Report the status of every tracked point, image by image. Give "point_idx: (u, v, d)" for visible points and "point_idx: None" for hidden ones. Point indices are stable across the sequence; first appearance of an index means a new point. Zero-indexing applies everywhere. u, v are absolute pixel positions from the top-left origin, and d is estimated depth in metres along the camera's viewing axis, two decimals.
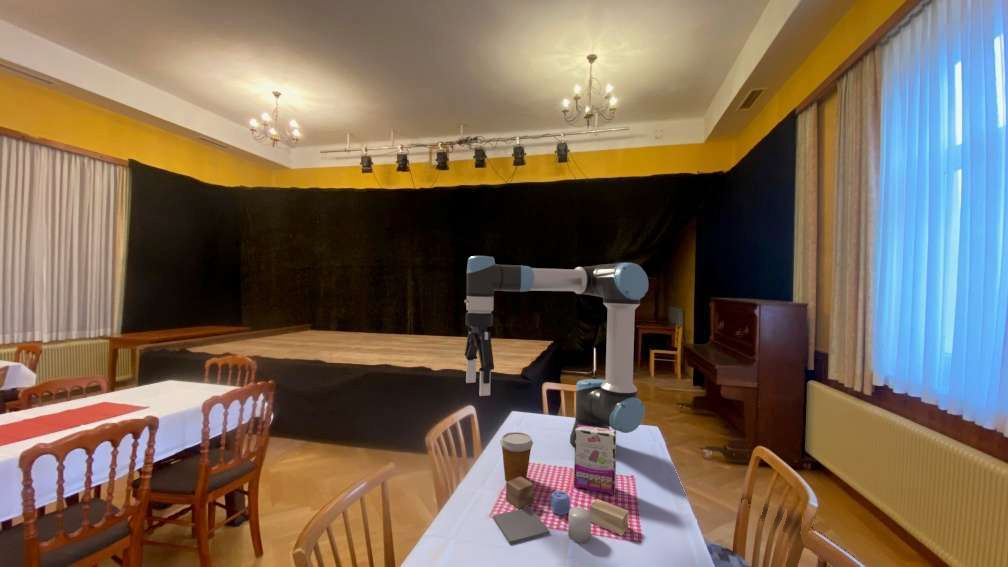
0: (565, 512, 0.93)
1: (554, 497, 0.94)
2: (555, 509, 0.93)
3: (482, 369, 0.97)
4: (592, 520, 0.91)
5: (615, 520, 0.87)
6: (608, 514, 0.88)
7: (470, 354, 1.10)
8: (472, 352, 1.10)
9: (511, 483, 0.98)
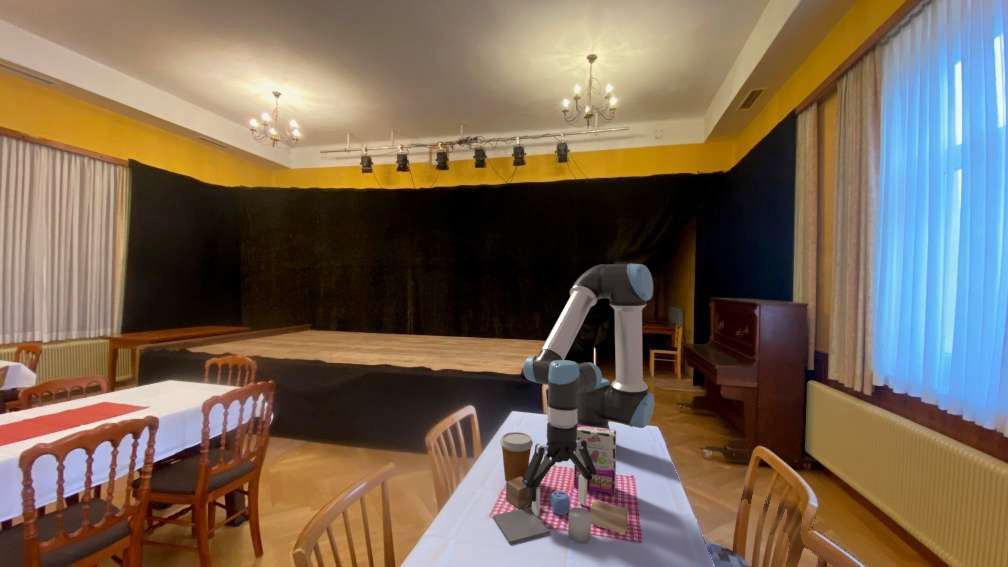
0: (565, 512, 0.93)
1: (554, 497, 0.94)
2: (555, 509, 0.93)
3: None
4: (593, 522, 0.90)
5: (617, 519, 0.87)
6: (609, 515, 0.88)
7: (579, 469, 0.98)
8: (578, 468, 0.98)
9: (511, 483, 0.98)
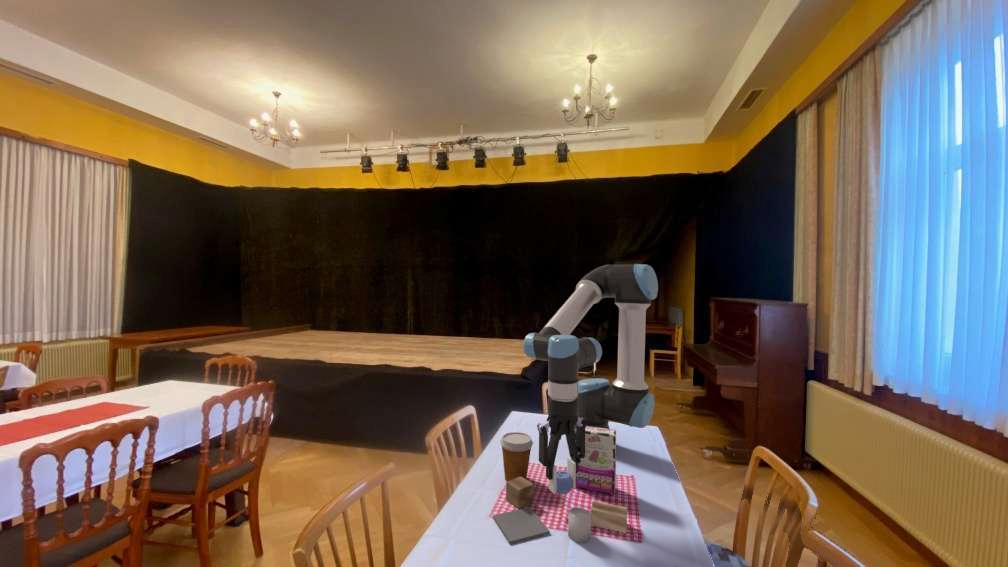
0: (567, 491, 0.94)
1: None
2: (557, 488, 0.94)
3: None
4: (593, 523, 0.89)
5: (619, 519, 0.87)
6: (610, 515, 0.88)
7: (569, 450, 0.97)
8: (570, 448, 0.97)
9: (511, 483, 0.98)
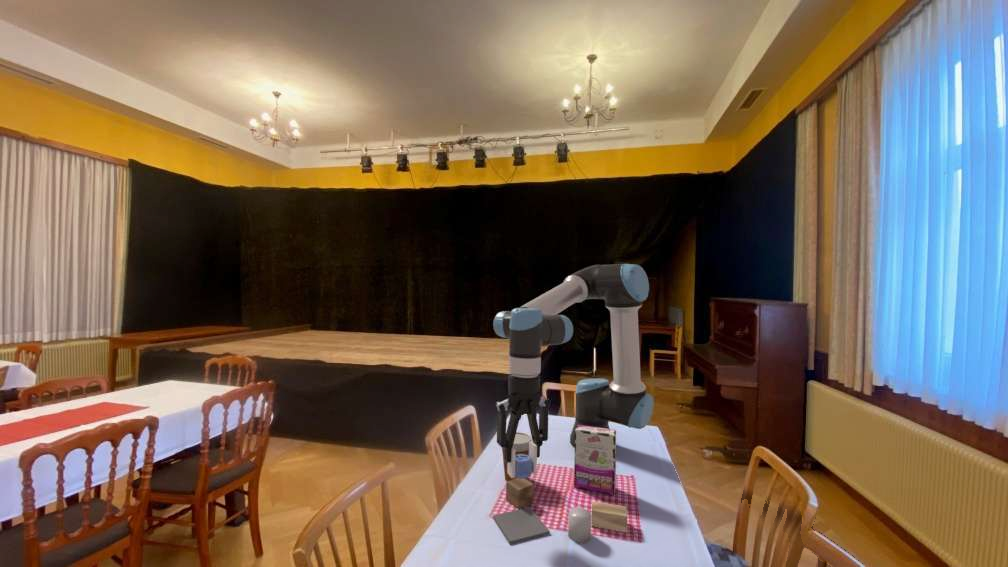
0: (526, 475, 0.87)
1: (515, 460, 0.88)
2: (516, 472, 0.87)
3: None
4: (594, 524, 0.89)
5: (620, 518, 0.88)
6: (611, 515, 0.88)
7: (531, 432, 0.91)
8: (531, 430, 0.90)
9: (511, 483, 0.98)
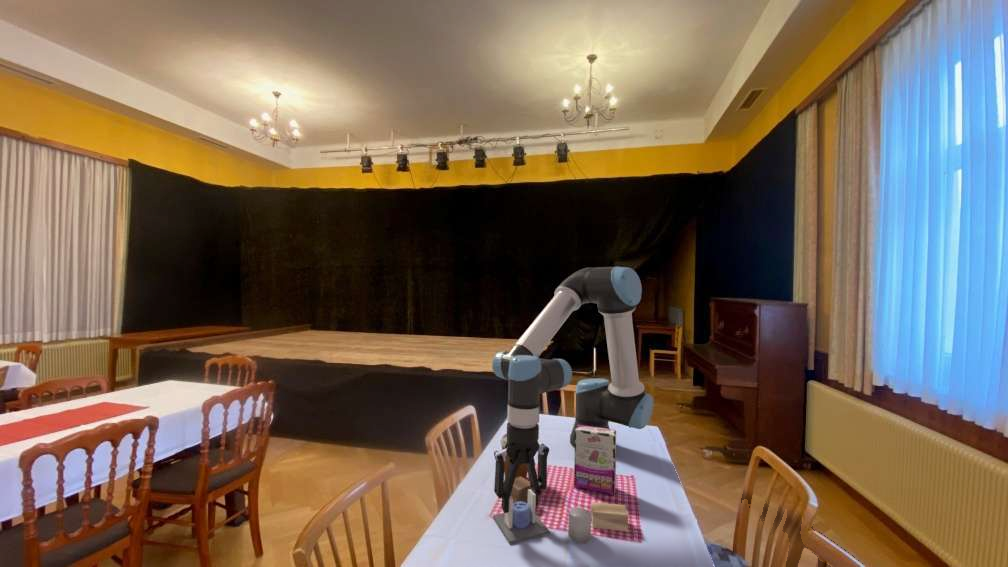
0: (525, 525, 0.87)
1: (513, 509, 0.88)
2: (514, 522, 0.87)
3: None
4: (596, 525, 0.88)
5: (621, 518, 0.88)
6: (613, 515, 0.88)
7: (530, 480, 0.90)
8: (530, 478, 0.90)
9: None
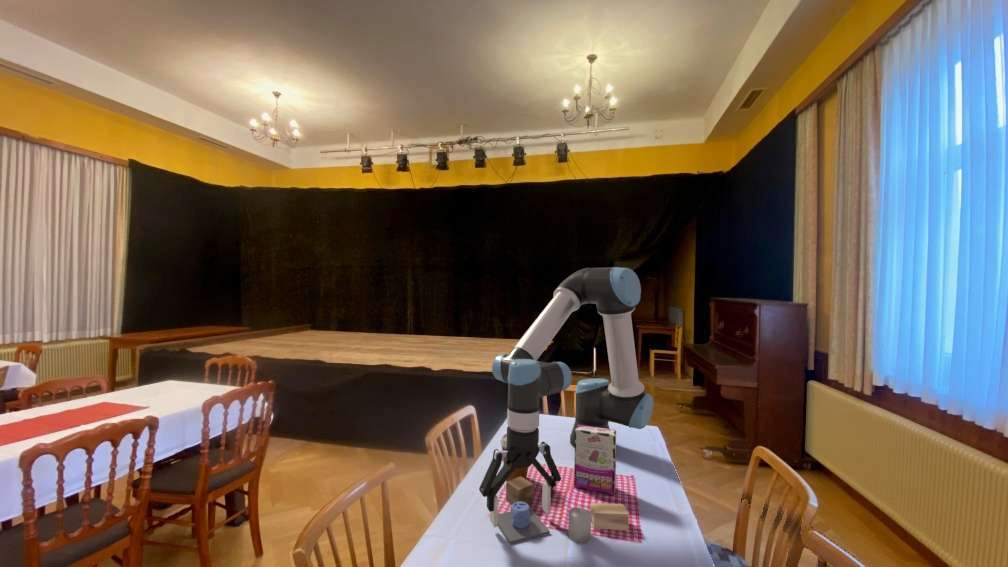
0: (525, 525, 0.87)
1: (513, 509, 0.88)
2: (514, 522, 0.87)
3: None
4: (597, 526, 0.88)
5: (621, 517, 0.88)
6: (613, 515, 0.88)
7: (542, 475, 0.92)
8: (541, 474, 0.91)
9: (511, 483, 0.98)
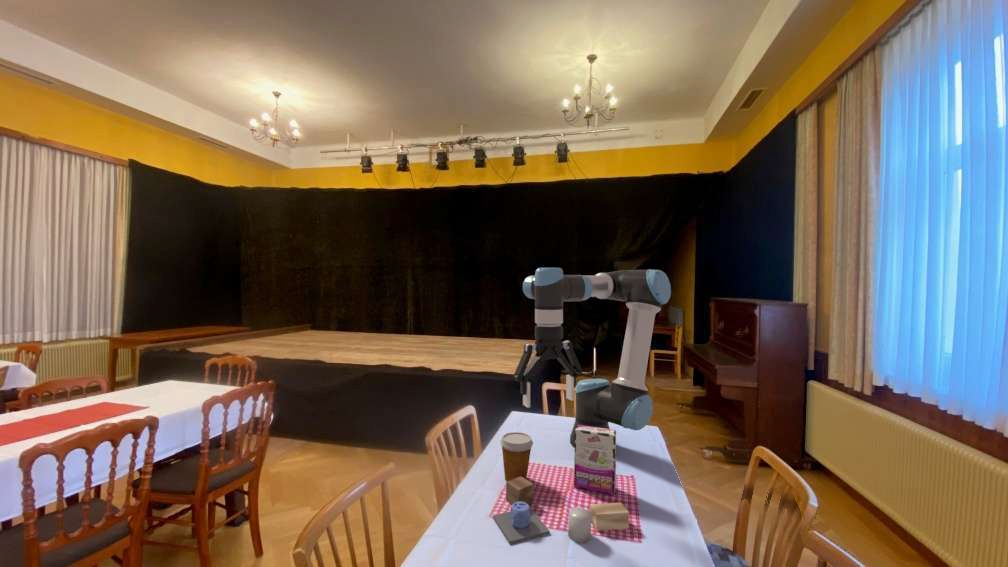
0: (525, 525, 0.87)
1: (513, 509, 0.88)
2: (514, 522, 0.87)
3: None
4: (599, 528, 0.88)
5: (622, 516, 0.89)
6: (615, 515, 0.88)
7: (566, 369, 1.05)
8: (565, 367, 1.05)
9: (511, 483, 0.98)
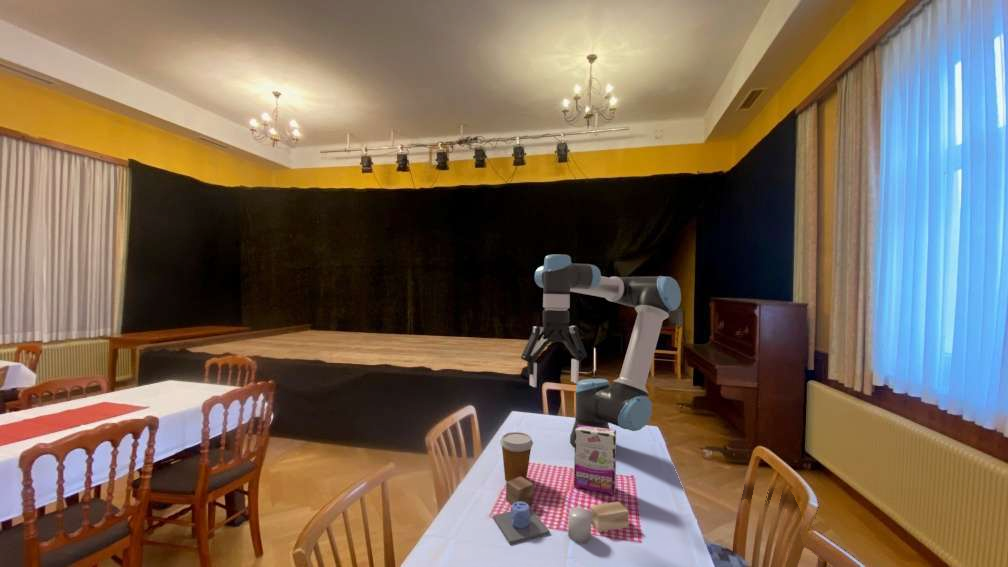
0: (525, 525, 0.87)
1: (513, 509, 0.88)
2: (514, 522, 0.87)
3: None
4: (601, 529, 0.87)
5: (622, 515, 0.89)
6: (615, 514, 0.88)
7: (571, 353, 1.10)
8: (571, 351, 1.10)
9: (511, 483, 0.98)
